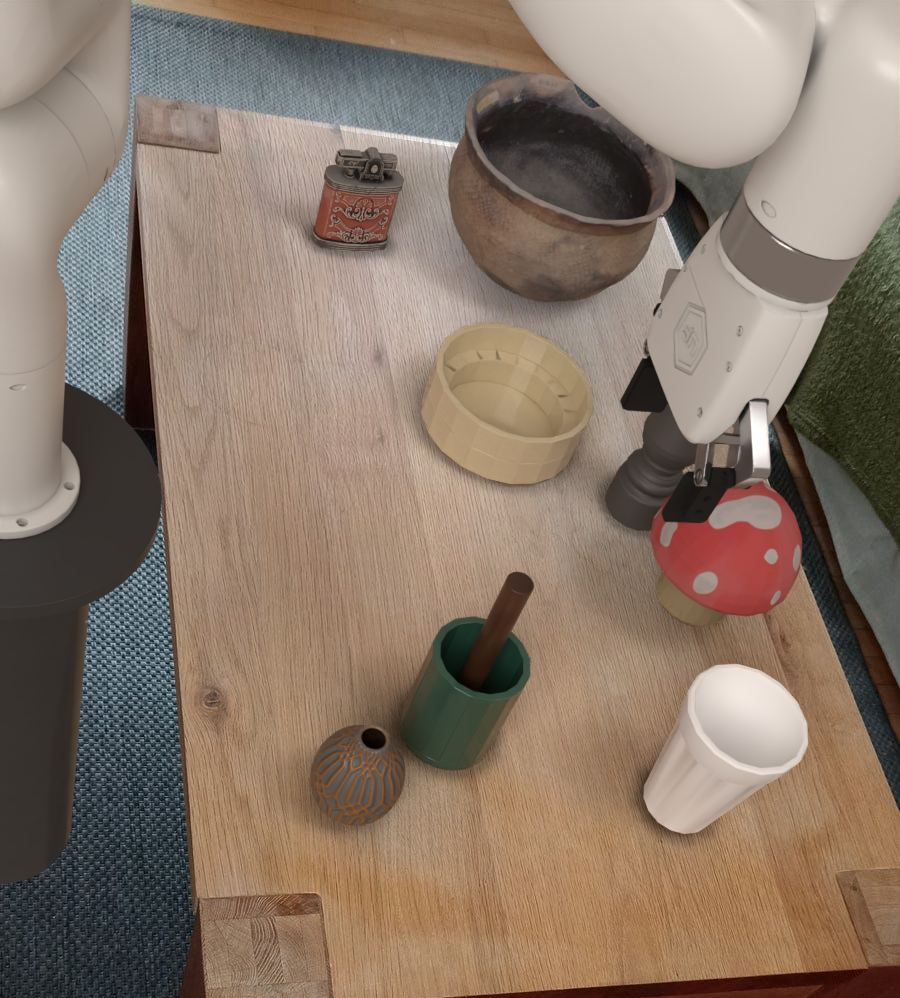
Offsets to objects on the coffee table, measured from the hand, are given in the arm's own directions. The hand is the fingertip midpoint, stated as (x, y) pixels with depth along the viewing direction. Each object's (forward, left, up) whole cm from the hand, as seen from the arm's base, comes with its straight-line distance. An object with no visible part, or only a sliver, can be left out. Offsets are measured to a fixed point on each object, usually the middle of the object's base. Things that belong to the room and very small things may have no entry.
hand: (660, 462), depth 86 cm
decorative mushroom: (+15, +13, -28) cm, 35 cm away
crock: (-7, -4, -28) cm, 29 cm away
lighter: (-19, +54, -28) cm, 63 cm away
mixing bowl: (-3, +32, -28) cm, 42 cm away
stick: (-7, -4, -27) cm, 28 cm away
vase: (-14, -13, -28) cm, 34 cm away
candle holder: (+11, +25, -28) cm, 40 cm away
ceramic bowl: (0, +57, -28) cm, 63 cm away
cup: (+13, -7, -28) cm, 32 cm away
